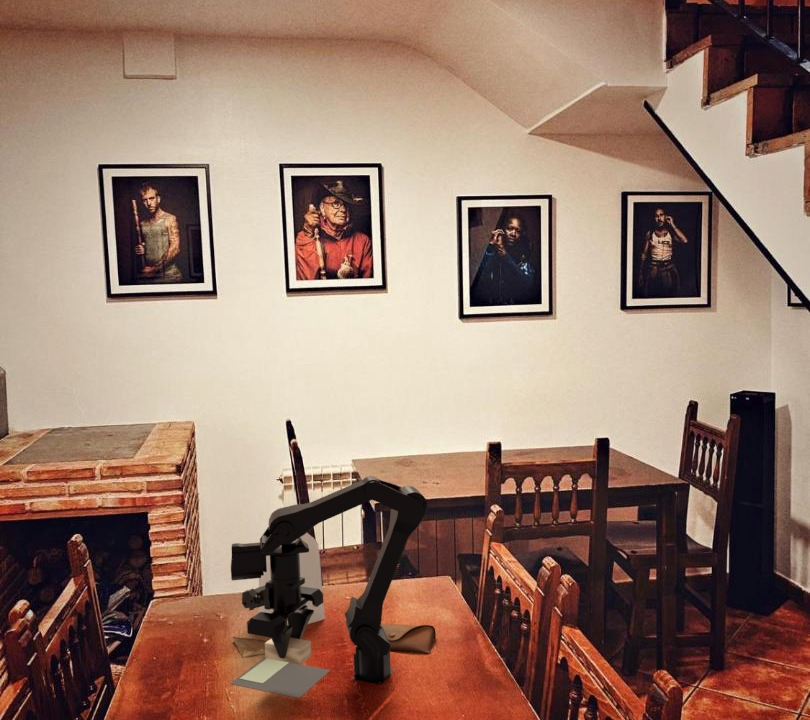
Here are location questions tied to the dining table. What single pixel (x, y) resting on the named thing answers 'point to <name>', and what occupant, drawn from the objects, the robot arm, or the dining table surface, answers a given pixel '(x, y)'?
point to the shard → (250, 646)
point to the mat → (280, 677)
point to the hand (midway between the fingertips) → (288, 653)
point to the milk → (303, 576)
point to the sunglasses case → (410, 638)
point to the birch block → (290, 651)
